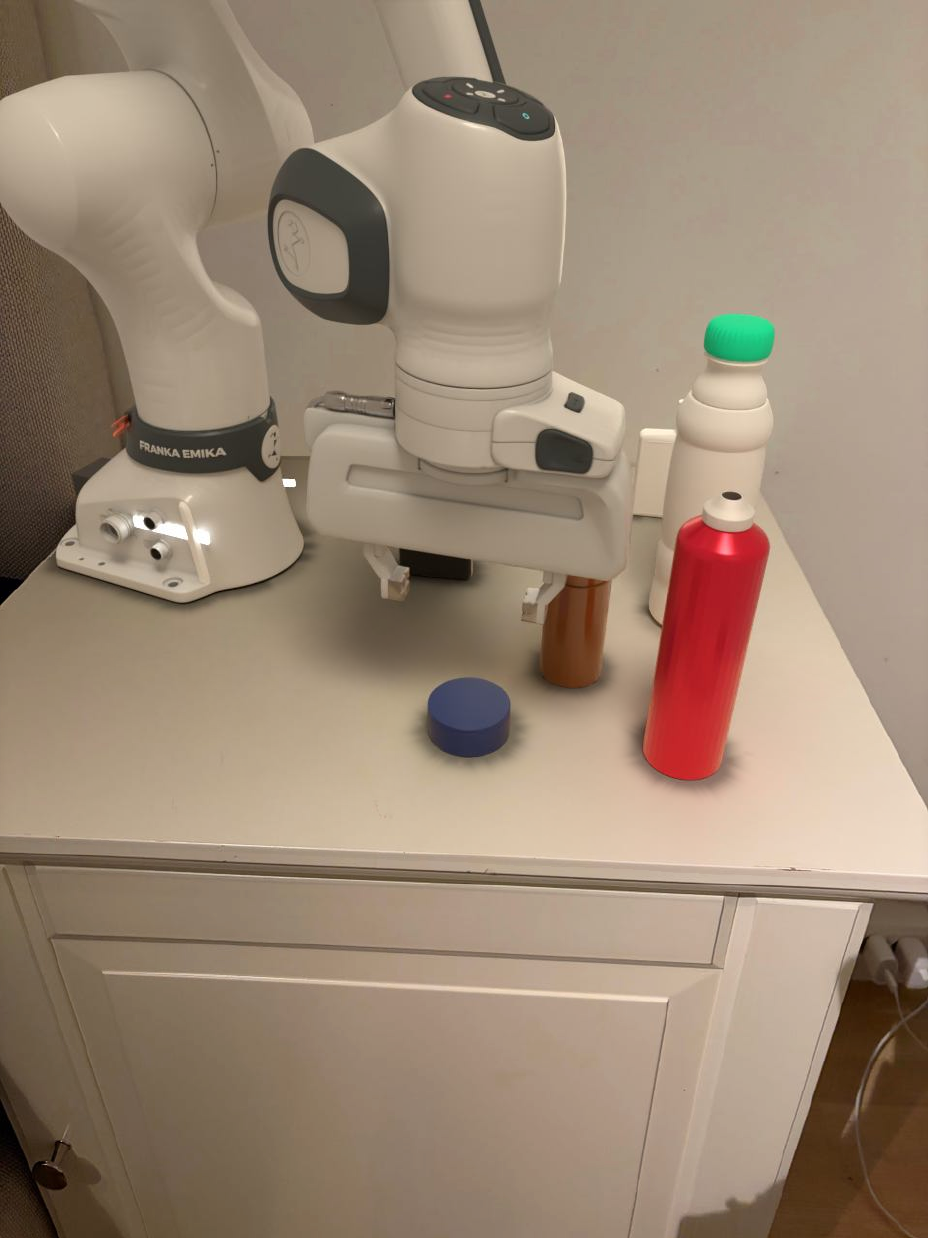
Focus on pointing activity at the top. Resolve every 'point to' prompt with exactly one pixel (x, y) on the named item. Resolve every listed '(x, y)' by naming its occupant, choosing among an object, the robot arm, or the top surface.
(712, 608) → the bottle
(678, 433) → the water bottle
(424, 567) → the battery charger
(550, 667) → the jar
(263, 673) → the top surface
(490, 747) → the lid
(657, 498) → the white upright flat block
